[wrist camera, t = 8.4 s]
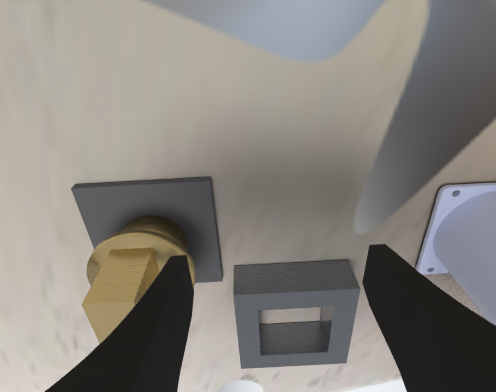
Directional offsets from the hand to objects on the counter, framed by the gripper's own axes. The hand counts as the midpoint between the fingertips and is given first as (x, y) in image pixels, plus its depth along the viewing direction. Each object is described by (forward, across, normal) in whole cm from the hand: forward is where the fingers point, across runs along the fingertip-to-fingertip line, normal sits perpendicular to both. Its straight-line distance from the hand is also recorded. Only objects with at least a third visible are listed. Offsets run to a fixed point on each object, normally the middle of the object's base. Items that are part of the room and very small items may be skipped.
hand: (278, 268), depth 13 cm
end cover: (+9, +8, +5) cm, 13 cm away
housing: (+9, -2, +13) cm, 16 cm away
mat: (+9, +8, +5) cm, 13 cm away
